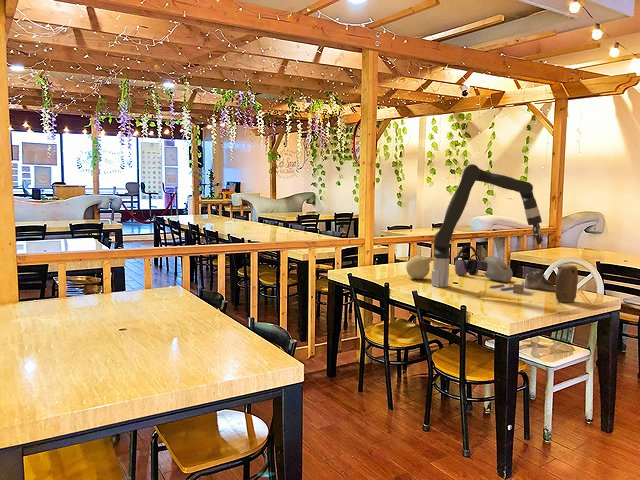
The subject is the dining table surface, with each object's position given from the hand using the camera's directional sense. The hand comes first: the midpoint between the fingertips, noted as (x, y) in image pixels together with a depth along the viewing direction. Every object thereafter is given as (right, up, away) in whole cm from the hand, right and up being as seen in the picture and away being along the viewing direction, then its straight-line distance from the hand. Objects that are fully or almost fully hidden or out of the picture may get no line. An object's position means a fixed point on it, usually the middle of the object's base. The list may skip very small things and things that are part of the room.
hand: (540, 243), depth 300 cm
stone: (+4, -31, -22) cm, 39 cm away
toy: (-64, -24, +37) cm, 77 cm away
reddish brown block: (-15, -27, -7) cm, 32 cm away
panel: (-18, -28, -2) cm, 34 cm away
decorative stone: (-12, -24, +35) cm, 45 cm away
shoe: (+4, -29, 0) cm, 29 cm away
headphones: (-27, -22, +54) cm, 64 cm away
